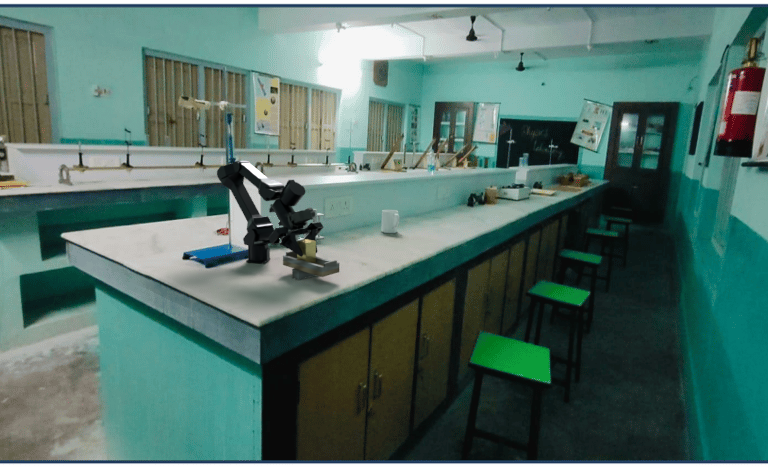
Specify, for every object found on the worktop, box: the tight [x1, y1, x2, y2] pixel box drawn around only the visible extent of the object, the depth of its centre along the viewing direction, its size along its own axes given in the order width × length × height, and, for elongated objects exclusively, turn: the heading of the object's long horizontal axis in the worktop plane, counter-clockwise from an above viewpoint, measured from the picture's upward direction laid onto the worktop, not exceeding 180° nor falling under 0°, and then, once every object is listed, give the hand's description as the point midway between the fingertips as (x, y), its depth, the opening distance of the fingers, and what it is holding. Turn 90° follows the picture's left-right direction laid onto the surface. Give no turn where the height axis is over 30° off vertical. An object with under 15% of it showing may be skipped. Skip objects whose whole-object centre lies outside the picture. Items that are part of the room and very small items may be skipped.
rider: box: [297, 239, 317, 263], centre depth 141 cm, size 4×4×7 cm
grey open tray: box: [282, 250, 340, 281], centre depth 141 cm, size 18×9×7 cm, turn 52°
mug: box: [380, 209, 401, 234], centre depth 216 cm, size 12×8×10 cm, turn 29°
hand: (309, 254), depth 140 cm, fingers open, 6 cm apart
